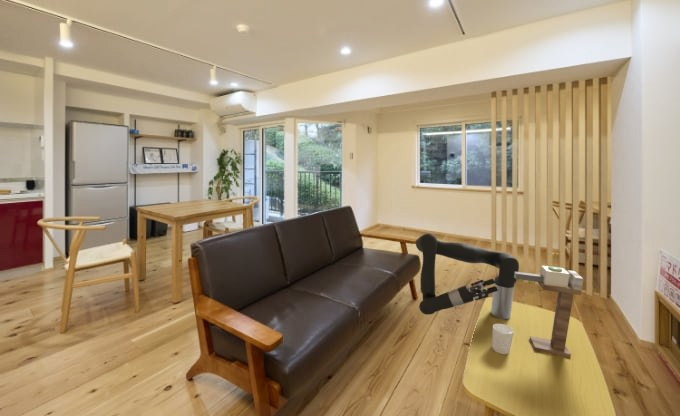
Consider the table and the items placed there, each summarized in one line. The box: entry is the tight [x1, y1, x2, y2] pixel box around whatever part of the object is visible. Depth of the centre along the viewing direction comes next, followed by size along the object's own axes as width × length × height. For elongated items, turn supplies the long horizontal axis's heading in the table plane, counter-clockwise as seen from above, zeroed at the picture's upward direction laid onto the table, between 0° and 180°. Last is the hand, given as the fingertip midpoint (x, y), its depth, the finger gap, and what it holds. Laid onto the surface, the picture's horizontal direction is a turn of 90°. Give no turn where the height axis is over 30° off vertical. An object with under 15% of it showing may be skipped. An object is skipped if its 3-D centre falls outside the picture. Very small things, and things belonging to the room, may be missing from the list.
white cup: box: [491, 323, 515, 355], centre depth 130 cm, size 8×8×10 cm
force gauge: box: [514, 265, 569, 288], centre depth 129 cm, size 7×18×6 cm, turn 71°
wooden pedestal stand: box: [529, 269, 584, 358], centre depth 129 cm, size 9×13×35 cm
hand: (495, 284), depth 136 cm, fingers open, 8 cm apart
